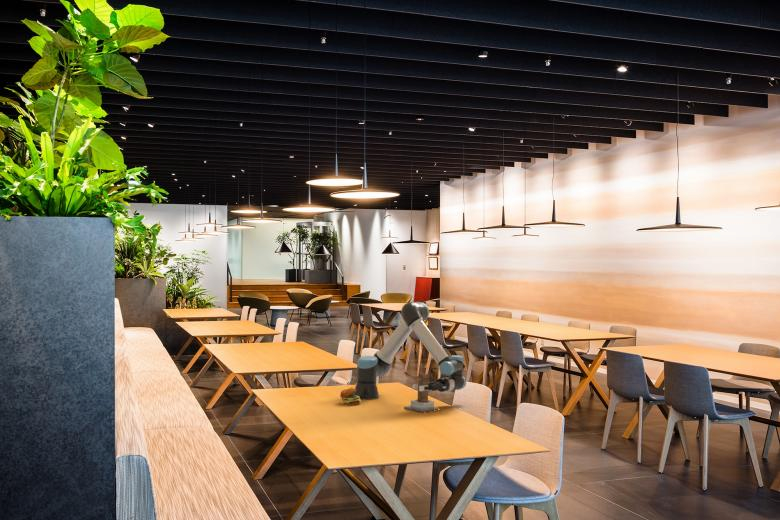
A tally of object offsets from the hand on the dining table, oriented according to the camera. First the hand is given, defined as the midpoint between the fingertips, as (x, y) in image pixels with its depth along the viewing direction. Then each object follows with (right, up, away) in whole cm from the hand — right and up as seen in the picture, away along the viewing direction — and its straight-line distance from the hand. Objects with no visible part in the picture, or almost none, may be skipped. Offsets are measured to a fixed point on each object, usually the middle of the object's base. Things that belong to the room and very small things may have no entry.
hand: (416, 388), depth 358 cm
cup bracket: (+3, -12, +3) cm, 13 cm away
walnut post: (+3, -9, +4) cm, 10 cm away
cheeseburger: (-36, -11, +10) cm, 39 cm away
